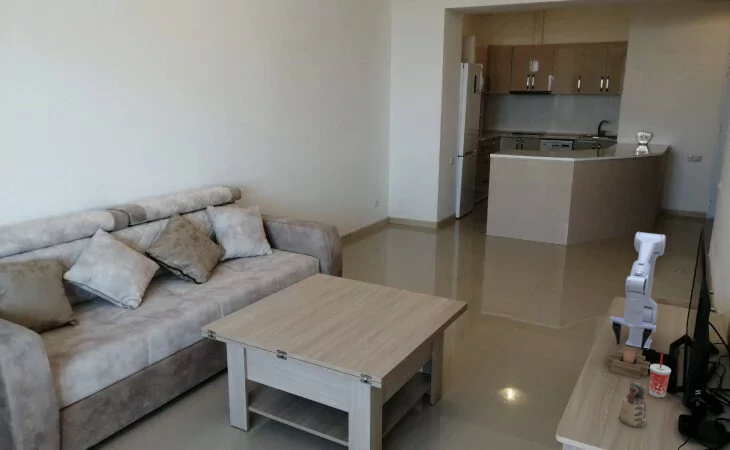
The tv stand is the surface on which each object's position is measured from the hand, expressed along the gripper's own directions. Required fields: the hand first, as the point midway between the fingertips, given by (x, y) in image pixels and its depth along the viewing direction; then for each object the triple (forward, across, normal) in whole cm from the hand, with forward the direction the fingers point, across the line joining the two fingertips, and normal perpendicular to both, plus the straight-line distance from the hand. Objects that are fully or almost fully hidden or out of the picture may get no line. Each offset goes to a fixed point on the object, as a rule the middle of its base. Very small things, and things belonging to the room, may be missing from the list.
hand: (630, 346), depth 197 cm
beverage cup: (+8, +11, -14) cm, 20 cm away
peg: (+8, 0, 0) cm, 8 cm away
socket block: (+8, 0, 0) cm, 8 cm away
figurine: (+8, +7, -35) cm, 37 cm away
